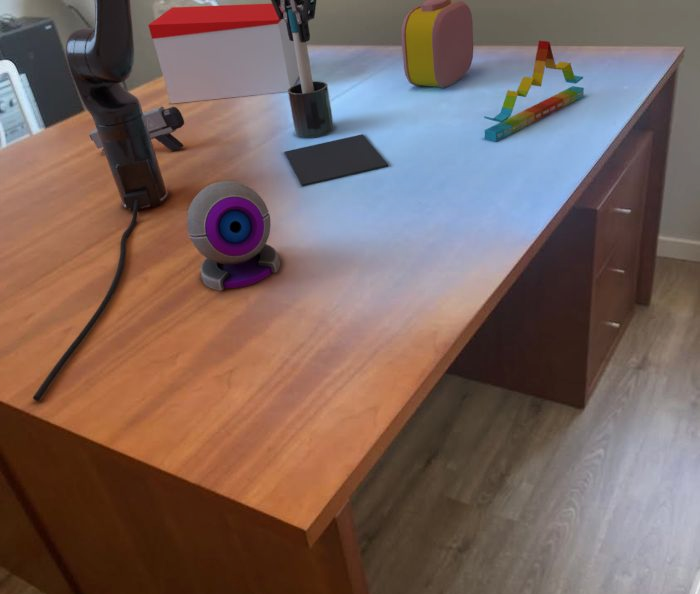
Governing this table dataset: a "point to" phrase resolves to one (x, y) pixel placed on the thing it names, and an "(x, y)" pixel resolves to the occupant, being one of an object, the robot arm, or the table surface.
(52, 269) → the table surface
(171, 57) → the red-lidded white box
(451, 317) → the table surface
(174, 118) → the gun
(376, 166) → the desk mat
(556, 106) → the chart
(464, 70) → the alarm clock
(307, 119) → the pen holder
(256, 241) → the webcam
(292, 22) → the marker
